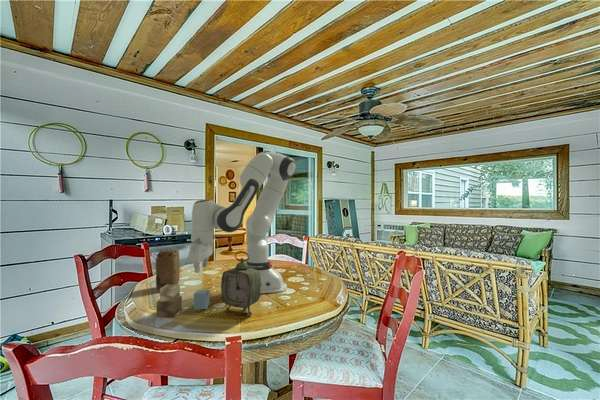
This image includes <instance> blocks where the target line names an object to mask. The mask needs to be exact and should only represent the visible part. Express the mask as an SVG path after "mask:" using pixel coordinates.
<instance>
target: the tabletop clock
mask: <svg viewBox="0 0 600 400" xmlns="http://www.w3.org/2000/svg"><path fill="white" fill-rule="evenodd" d="M238 254H245V255H246V257H247V256H248V259H247V258H246V259H244V258H243V257H240V258H237V255H238ZM234 258H235V259H236V261H238V262H237V264H236V266H235V267H233V268H231V269H227V270H225V271H223V273H222V275H221V285H220V289H221V290H220V291H221V292H220V293H221V298H222V302H223V303H224V304H225V305H228V306H227V307H226V308H225V312H227V313H228V312H230V308H231V307H233V308H241V309H242V310H244V311H247V317H251V316H252V312H251V311H250V308H251V307H250V306H253V305H254V304H256V303H257V302H259V300H260V298H261V294H262V293H261V276H260V272H259V271H258V270H256V269H253V268H249V267H248V265H247V263H246V261H248V260H249V255H248V254H247V251H243V250H241V251H237V252H236V253H235V254H234Z"/></svg>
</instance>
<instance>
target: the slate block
mask: <svg viewBox="0 0 600 400" xmlns="http://www.w3.org/2000/svg"><path fill="white" fill-rule="evenodd" d="M210 294H211V293H210V289H197V290H196V291H195V292H193V310H194V309H195V310H194V311H204V310H203V309H206V310H207V309H209V307H210V306H209V305H210V304H211V303H210V301H211V299H210V297H211V296H210ZM208 306H209V307H208ZM197 309H199V310H197ZM200 309H202V310H200Z"/></svg>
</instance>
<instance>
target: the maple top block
mask: <svg viewBox="0 0 600 400" xmlns="http://www.w3.org/2000/svg"><path fill="white" fill-rule="evenodd" d="M180 286H181V284H178V285H165V286H164V287H162V288H159V300H160V301H175V300H176V299H178V298H179V297H180V296H181V293H180V292H181V290H180V289H181V287H180Z"/></svg>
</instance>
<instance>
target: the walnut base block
mask: <svg viewBox="0 0 600 400" xmlns="http://www.w3.org/2000/svg"><path fill="white" fill-rule="evenodd" d="M182 303H183V297H182V295H180V297H179V298H178V299H176V300H175V301H160V299H159V300H158V301H156V318H175V317H176V316H177V315H178V314H179V313H180V312H182V311H183V309H182V308H183V304H182ZM179 311H180V312H179ZM178 312H179V313H178ZM177 313H178V314H177ZM176 314H177V315H176ZM175 315H176V316H175Z"/></svg>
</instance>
